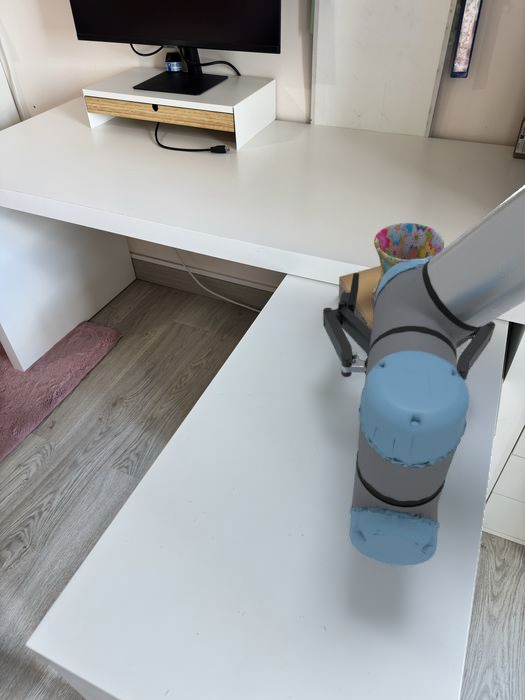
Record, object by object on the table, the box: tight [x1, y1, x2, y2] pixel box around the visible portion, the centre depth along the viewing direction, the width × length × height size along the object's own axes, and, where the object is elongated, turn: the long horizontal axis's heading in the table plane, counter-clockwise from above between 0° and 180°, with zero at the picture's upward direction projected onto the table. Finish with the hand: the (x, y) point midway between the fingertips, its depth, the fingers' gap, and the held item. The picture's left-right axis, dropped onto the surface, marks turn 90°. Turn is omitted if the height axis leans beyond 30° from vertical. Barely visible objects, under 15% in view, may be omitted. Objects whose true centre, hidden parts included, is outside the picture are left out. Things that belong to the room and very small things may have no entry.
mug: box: [373, 222, 445, 300], centre depth 74 cm, size 12×9×11 cm
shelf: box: [338, 265, 381, 330], centre depth 79 cm, size 16×14×4 cm
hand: (407, 284), depth 67 cm, fingers open, 13 cm apart
